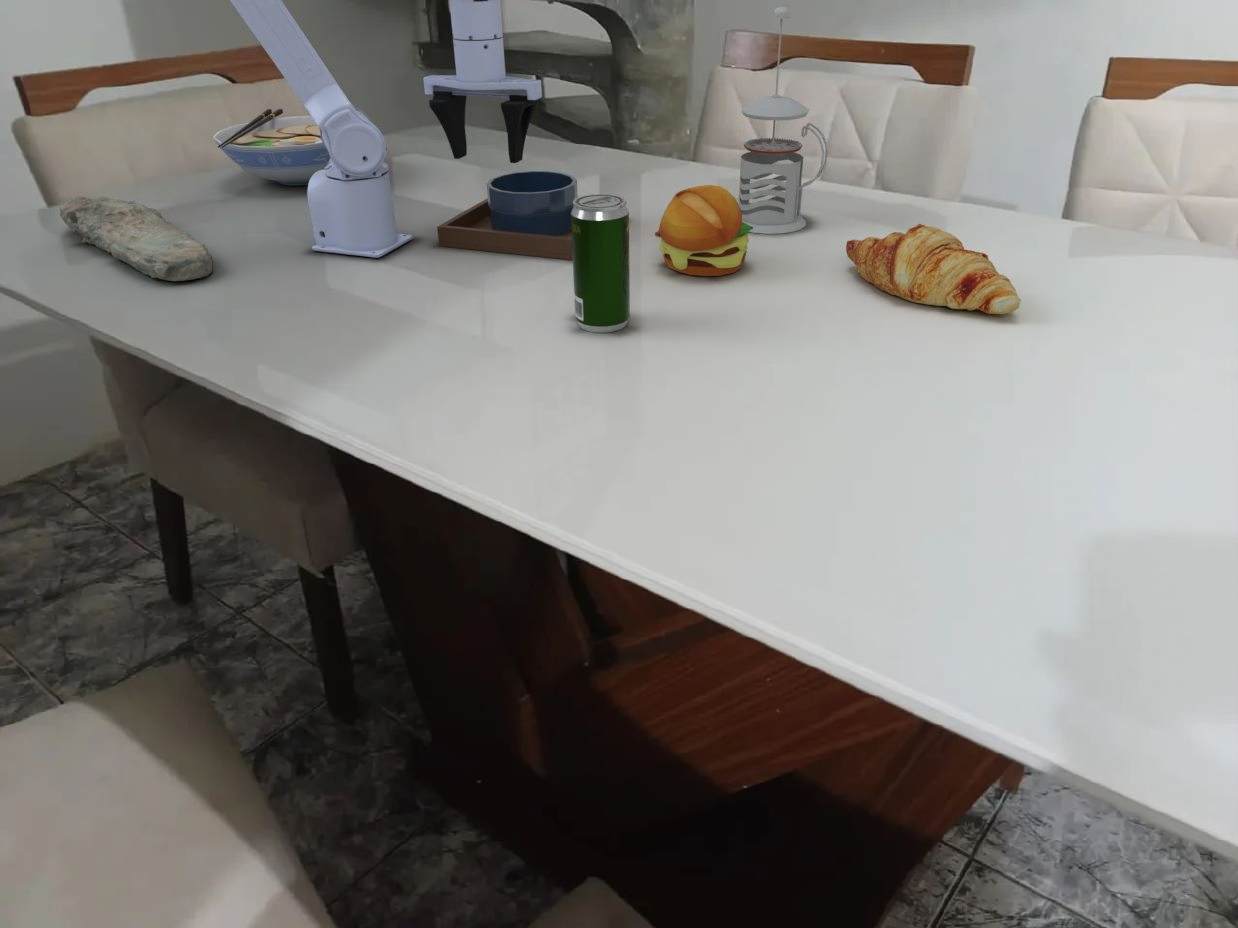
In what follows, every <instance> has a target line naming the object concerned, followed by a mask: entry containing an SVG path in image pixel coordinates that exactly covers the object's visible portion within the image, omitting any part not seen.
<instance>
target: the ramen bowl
mask: <svg viewBox="0 0 1238 928" xmlns="http://www.w3.org/2000/svg"><path fill="white" fill-rule="evenodd" d="M282 114H284V111H283V108H278V109H276V110H275V111H273V110H272V109H271V108H266V109H265V110H264V111H263V112H262V113H260V114H259V115H257V117H255V118H254V119H252V120H251V121H248V122H244V123H239V124H234V125H231V126H229V127H227V128H226V127H225V128H224V129H221V130H220V129H219V130H218V131H217V132H216V133H214V135H213V136H212V139H213V140H214V141H215V143H216V144H217V148H220V150H221V151H223V152H224V154H225V155H226V156H227V157H228V158H229V159H230V160H231V161H233V163H235V164H236V165H238V167H240V168H241V169H243V170H244V172H247V173H249V174H251V175H253V176H255V177H259V178H261V179H266V180H271V181H275V182H277V183H278V184H280V185H283V186H308V184H309V181H310V178H311V177H312V175H313V174H314V173H315V172H317V171H319V170H325V167H326V166H327V164H328V163H329V161H330V159H331V157H330V154H329V152H328V151H327V149H326V148H325V146H324V145H323V143H322V140H321V136H320V130H319V127H318V125H317V124H316V122H315V121H314V119H313V118H312V116H311V115H299V116H298V115H297V116H284V117H279V116H280V115H282Z"/></svg>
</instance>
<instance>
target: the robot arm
mask: <svg viewBox="0 0 1238 928" xmlns="http://www.w3.org/2000/svg"><path fill="white" fill-rule="evenodd" d="M229 1H230V3H231V4H232V6H233V7H234V8H235V10H236V11H237V12H238V14H239V16H240V17H241V18H242V20H243V21H244V23H245V24H246V26H248V28H249V30H250V31H251V32H252V34H253V35H254V36H255V38H256V39H257V41H258V42H259V43H260V45H261V46H262V48H263V49H264V51H265V52H266V53H267V55H268V56H269V58H270V59H271V60H272V62H273V64H274V65H275V66H276V68H277V69H278V71H279V72H280V74H281V75H282V76H283V78H284V79H285V80H286V82H287V83H288V84H289V86H290V88H291V89H292V91H293V92H294V94H295V95H296V96H297V98H298V99H299V100H300V102H301V103H302V104H303V106H304V107H305V109H306V110H307V112H308V113H309V116H312V118H313V119H314V121H315V122H316V124H317V125H318V127H319V130H320V136H321V140H322V143H323V145H324V146H325V148H326V149H327V151H328V152H329V154H330V157H331V159H330V161H329V163H328V164H327V166H326V167H325V170H319V171H317V172H315V173H314V174H313V175H312V177H311V178H310V181H309V184H308V185H307V189H306V190H307V191H306V195H307V196H306V199H307V203H308V210H309V214H310V220H311V226H312V231H313V236H314V242H315V244H313V246H311V247H312V248H311V249H312V251H314V252H323V253H330V254H331V253H332V254H341V255H349V256H358V257H365V258H366V257H368V258H374V259H375V258H376V259H377V258H381V257H383V256H385V255H387V254H388V253H390V252H392V251H394V250H396V249H398V248H399V247H401V246H403V245H404V244H406V243H408V242H410V241H411V240H413V235H412V234H405V233H398V227H397V219H396V214H395V213H396V212H395V206H394V199H393V191H392V185H391V178H390V171H389V165H388V163H386V162H384V161H385V159H386V154H387V144H386V139H385V138H384V135H383V133H382V132H381V130H380V129H379V128H378V127H377V125H375V124H374V123H373V122H372V120H371V119H370V117H369V116H368V115H367V114H366V113H365V112H364V110H361V109H360V108H358V107H357V106H355V105H353V104H352V102H351V101H350V100H349V99H348V97H347V95H346V94H345V92H344V91H343V90H342V88H341V87H340V85H339V84H338V82H337V81H336V80H335V78H334V77H333V75H332V74H331V72H330V70H329V69H328V67H327V66H326V65H325V63H324V62H323V60H322V59H321V57H320V56H319V54H318V53H317V51H316V50H315V48H314V47H313V45H312V44H311V42H310V41H309V39H308V38H307V36H306V35H305V33H304V32H303V30H302V29H301V27H300V26H299V24H298V23H297V22H296V20H295V19H294V17H293V16H292V14H291V12H290V11H289V10H288V8H287V6H286V5H285V4H284V2H283V0H229ZM448 1H449V12H450V21H451V31H452V43H453V53H454V62H455V73H456V74H451V75H447V74H444V75H439V74H438V75H437V74H434V75H433V74H431V75H427V76H424V77H423V78H422V79H423V87H424V94H425V95H426V96H432V99H429V101H428V104H429V105H428V106H429V108H430V109H431V110H432V112H433V114H434V115H435V117H436V118H437V120H438V122H439V124H440V125H441V127H442V129H443V131H444V133H445V136H446V139H447V141H448V143H449V144H448V145H449V147H450V149H451V152H452V156H453V159H454V160H455V159H456V160H460V159H462V158H464V157H467V155H468V152H467V151H468V144H467V134H466V106H467V105H466V104H467V97H486V98H505V99H506V98H507V99H508V100H505V101H503V102H500V109H501V112H502V115H503V119H504V123H505V128H506V135H507V149H508V158H509V163H510V164H518V163H519V162H521V161H523V156H524V149H525V144H526V143H525V142H526V138H527V133H528V129H529V126H530V123H531V121H532V117H533V115H534V114H535V110H536V108H537V106H538V101H539V99H542V98H543V93H542V92H543V89H542V80H541V79H530V78H522V77H514V76H506V61H505V49H504V37H503V36H504V33H503V19H502V17H503V16H502V6H501V5H502V3H501V0H448Z"/></svg>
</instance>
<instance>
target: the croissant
mask: <svg viewBox="0 0 1238 928" xmlns="http://www.w3.org/2000/svg"><path fill="white" fill-rule="evenodd" d="M845 252H846V255H847V258H849V260H851V262H852V263H853V264H854V265H855V267H856V269H857V271H858V273H859V275H860V276H861V278H863V279H864V280H865V281H866V282H868V283H872V284H873V285H874V286H875V287H876V288H878V289H879V290H881V291H883V292H885V293H887V294H889V295H891V296H896V297H899V298H901V299H904V300H906V301H908V302H912V303H916V304H923V305H930V306H937V307H947V308H950V309H952V310H967V311H975V310H979V311H982V312H983V313H986V314H989V315H991V314H992V315H1004V314H1009V313H1013V312H1015V311H1017V310H1018V309H1020V305H1021V298H1020V297H1019V296H1018V294H1017V291H1016V288H1015V286H1014V285H1013V284H1012V282H1011V280H1010V279H1009V278H1008V277H1007V276H1005V275H1004V274H1000V273H999V272H998V270H997V268H996V267H995V265H994V264H993V262H992V261H991V260H989V255H988V254H987V253H985V252H979V251H974V250H971V249H965V247H964V245H963V242H962V241H960V239H959V238H957V237H956V236H955V235H954V234H952V233H950V232H947V231H944V230H942V229H941V228H939V227H934V226H927V225H925V224H922V223H918V224H917V225H915V226H913V227H911V228H909V229H908V230H907V231H906V232H905V233H904V232H900V231H894V232H893V231H892V232H891V233H890V234H888V235H886V236H884V238H880V237H872V236H870V237H869V236H868V237H865V238H864V239H862V240H861V239H860V240H859V239H851V240H847V242H846V246H845Z"/></svg>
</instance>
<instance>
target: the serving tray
mask: <svg viewBox="0 0 1238 928" xmlns="http://www.w3.org/2000/svg"><path fill="white" fill-rule="evenodd" d="M436 230H437V239H438V246H439V247H444V248H453V249H454V248H455V249H464V250H473V251H474V250H475V251H482V252H492V253H502V254H510V255H511V254H512V255H520V256H530V257H539V258H549V259H558V260H568V261H573V253H572V231H571V232H568V233H566V234H563V235H559V236H547V235H537V234H527V233H517V232H507V231H497V230H492V229H491V224H490V219H489V207H488V197H487V198H485V199H483V200H482V201H480V202H478V203H477V204H474V205H473V206H471V207H469V208H468V209H466V210H464V211H462V212H460V213H459V214H457V215H454V216H453V217H451V218H449V219H448V220H446V221H445V222H442V223H441V224H440V225H437V226H436Z"/></svg>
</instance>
